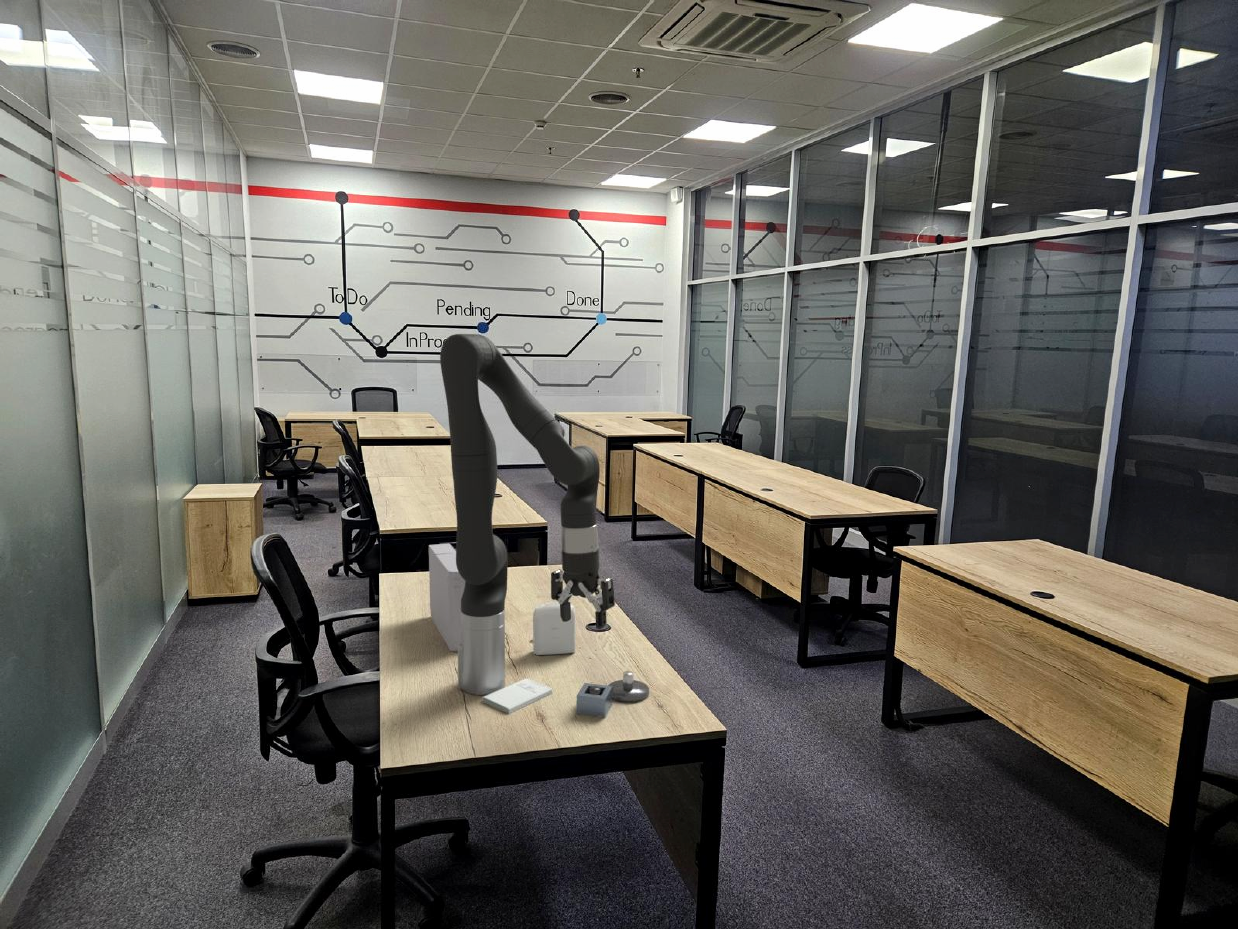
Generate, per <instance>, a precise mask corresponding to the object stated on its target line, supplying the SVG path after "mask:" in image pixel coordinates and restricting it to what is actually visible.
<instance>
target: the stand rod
mask: <svg viewBox="0 0 1238 929" xmlns="http://www.w3.org/2000/svg"><path fill="white" fill-rule="evenodd" d="M589 694H593V695H600V687H598V686H591V687H590V691H589Z"/></svg>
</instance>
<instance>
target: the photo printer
mask: <svg viewBox="0 0 1238 929" xmlns="http://www.w3.org/2000/svg"><path fill="white" fill-rule="evenodd" d="M532 642H533V643H532V647H533V651H532V652H533V654H534V655H535V654H536V656H539V655H540V656H543V655H544V656H545V655H547V656H548V655H549V656H550V655H563V654H565V655H566V654H573V653H575V652H576V611H575V607H574V604H571V619H570V620H569V621H567V622H563V621H562V618H561V616H560V604H559V603H558V601H556V602H553V601H552V602H547V603H543V604H542V603H541V604H539V605H537V606H535V607H534V610H533V615H532Z"/></svg>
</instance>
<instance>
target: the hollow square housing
mask: <svg viewBox="0 0 1238 929" xmlns="http://www.w3.org/2000/svg"><path fill="white" fill-rule="evenodd" d="M608 685H609V684H607V685H605V684H599V683H589V682H584V683H583V685H582V686H581V687H580V690H578V693H577V694H576V711H575V712H576V715H581V716H588V715H593V716H592V717H596V716H601V717H600V718H604V717H605V718H606V717H607V715H608V714H607V713H609V712H608V711H610V710H609V709H611V708H612V706H613V699H612V695H613V686H608ZM591 686H598V687H600V695H593V694H589V691H590V687H591ZM611 705H612V706H611Z"/></svg>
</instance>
